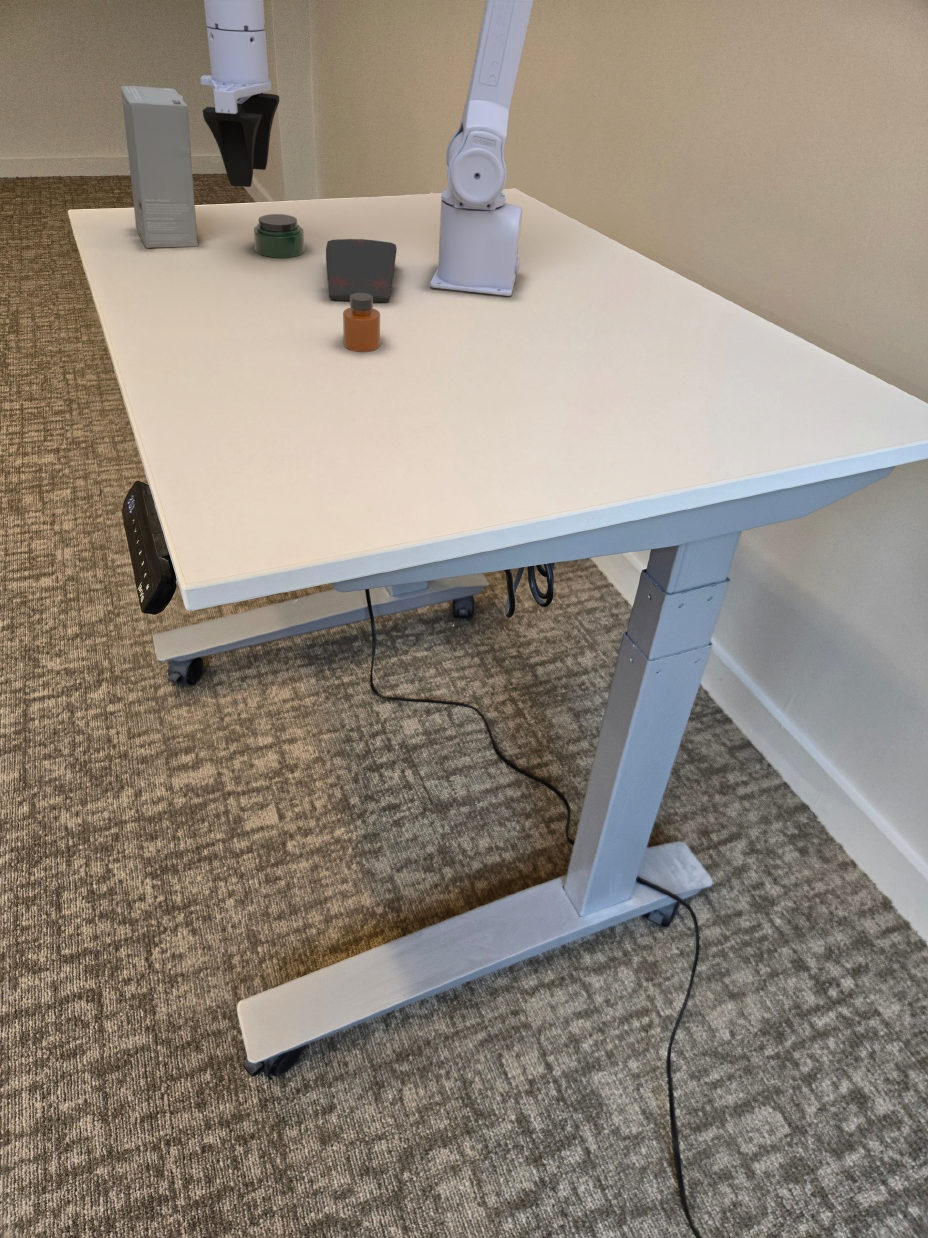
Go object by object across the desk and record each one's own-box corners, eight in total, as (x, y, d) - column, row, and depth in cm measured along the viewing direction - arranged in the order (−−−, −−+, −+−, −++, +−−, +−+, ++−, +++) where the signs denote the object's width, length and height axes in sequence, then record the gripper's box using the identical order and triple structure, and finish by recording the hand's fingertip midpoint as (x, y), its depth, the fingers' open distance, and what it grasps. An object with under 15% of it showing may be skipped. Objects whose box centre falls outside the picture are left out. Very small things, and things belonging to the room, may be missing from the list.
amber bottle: (383, 339, 88) (383, 291, 85) (375, 353, 85) (376, 304, 82) (348, 335, 88) (347, 288, 85) (339, 349, 85) (338, 300, 82)
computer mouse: (396, 263, 106) (396, 229, 104) (395, 303, 96) (396, 266, 93) (329, 260, 106) (328, 225, 103) (322, 300, 95) (320, 263, 92)
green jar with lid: (310, 245, 110) (308, 215, 107) (297, 260, 105) (295, 228, 103) (263, 240, 110) (261, 210, 108) (248, 254, 105) (245, 223, 103)
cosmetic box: (135, 229, 110) (111, 84, 100) (193, 226, 112) (175, 84, 102) (145, 250, 104) (120, 98, 94) (205, 246, 107) (188, 98, 96)
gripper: (214, 17, 92) (228, 158, 101) (175, 32, 81) (194, 190, 89) (280, 22, 92) (289, 163, 101) (250, 38, 81) (263, 195, 90)
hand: (249, 176), depth 95 cm, fingers open, 7 cm apart
